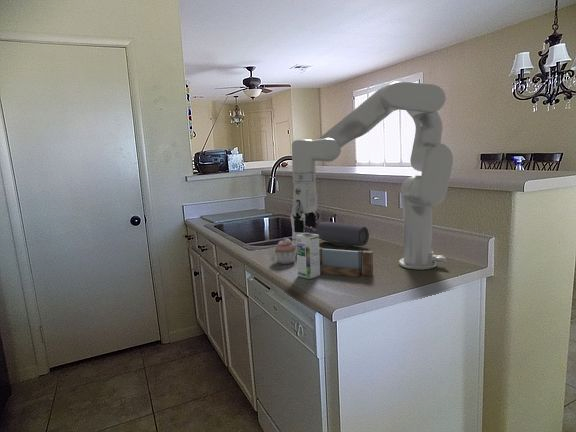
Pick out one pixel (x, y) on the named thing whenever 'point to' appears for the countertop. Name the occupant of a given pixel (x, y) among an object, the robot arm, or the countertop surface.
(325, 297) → the countertop surface
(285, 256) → the cupcake
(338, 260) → the door
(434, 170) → the robot arm
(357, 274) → the door frame
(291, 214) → the plastic bottle
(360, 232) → the bluetooth speaker
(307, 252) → the syrup box
